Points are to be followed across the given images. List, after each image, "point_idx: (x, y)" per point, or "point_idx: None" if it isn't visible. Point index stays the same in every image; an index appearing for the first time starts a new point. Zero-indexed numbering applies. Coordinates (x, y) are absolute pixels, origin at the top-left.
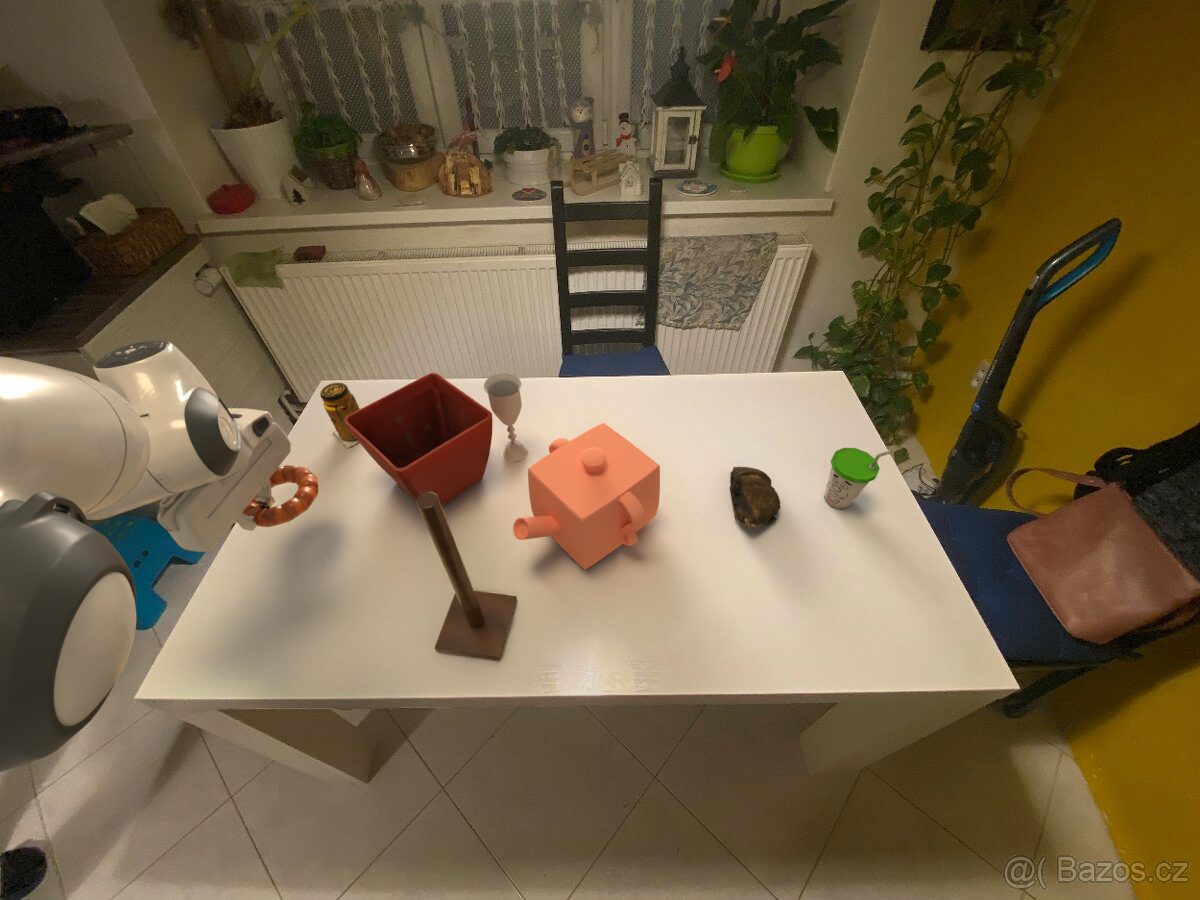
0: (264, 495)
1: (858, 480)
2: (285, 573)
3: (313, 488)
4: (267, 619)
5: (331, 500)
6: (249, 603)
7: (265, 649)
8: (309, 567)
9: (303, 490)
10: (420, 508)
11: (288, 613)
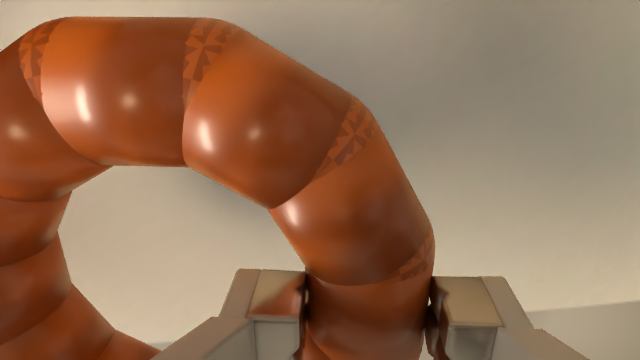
0: (244, 356)
1: None
2: None
3: (37, 38)
4: (526, 131)
5: None
6: (473, 206)
7: (626, 83)
8: None
9: (88, 93)
10: None
11: (509, 78)
